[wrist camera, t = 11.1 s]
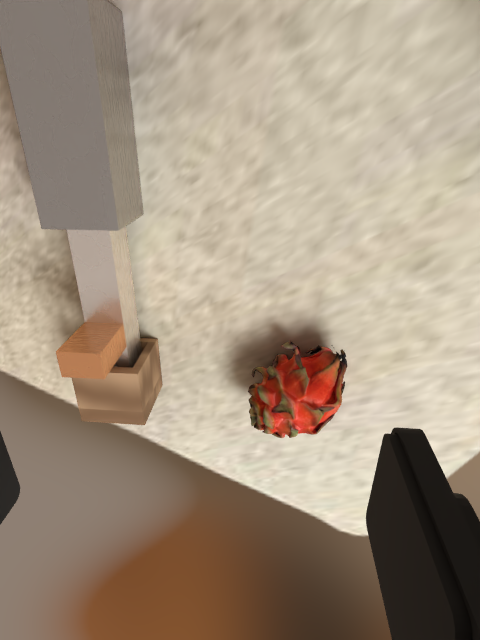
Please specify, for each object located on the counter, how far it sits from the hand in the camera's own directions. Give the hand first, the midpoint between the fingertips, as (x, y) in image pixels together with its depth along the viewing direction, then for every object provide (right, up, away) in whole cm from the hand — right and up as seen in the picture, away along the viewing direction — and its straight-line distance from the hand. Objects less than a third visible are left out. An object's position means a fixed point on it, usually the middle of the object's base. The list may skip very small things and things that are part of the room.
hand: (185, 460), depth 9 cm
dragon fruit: (+7, -2, +32) cm, 33 cm away
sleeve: (-11, +19, +23) cm, 32 cm away
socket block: (-11, -1, +33) cm, 35 cm away
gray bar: (-11, +8, +27) cm, 30 cm away
